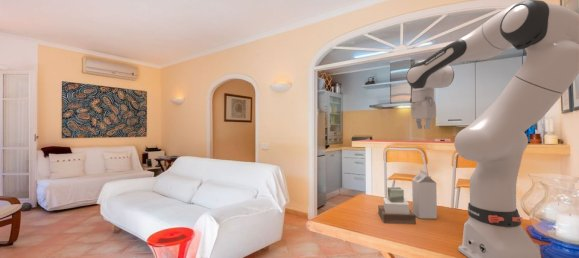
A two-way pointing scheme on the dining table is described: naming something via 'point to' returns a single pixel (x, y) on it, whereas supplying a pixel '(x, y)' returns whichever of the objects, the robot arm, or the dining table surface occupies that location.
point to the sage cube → (395, 194)
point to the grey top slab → (396, 207)
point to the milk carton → (424, 196)
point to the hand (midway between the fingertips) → (423, 129)
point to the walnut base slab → (396, 217)
